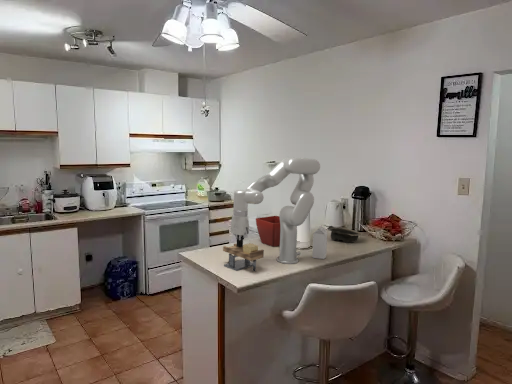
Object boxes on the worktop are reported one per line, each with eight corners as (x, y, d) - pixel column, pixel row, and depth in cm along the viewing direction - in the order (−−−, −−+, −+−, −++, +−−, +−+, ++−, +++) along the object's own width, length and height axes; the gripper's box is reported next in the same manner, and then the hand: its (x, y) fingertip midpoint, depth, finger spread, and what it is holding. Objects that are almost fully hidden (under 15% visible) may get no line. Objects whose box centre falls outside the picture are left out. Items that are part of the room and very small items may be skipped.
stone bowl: (320, 239, 255) (321, 226, 254) (337, 236, 274) (338, 224, 274) (352, 246, 239) (354, 232, 239) (368, 242, 258) (369, 229, 258)
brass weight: (242, 254, 187) (243, 244, 186) (249, 252, 190) (250, 243, 190) (250, 256, 182) (251, 247, 182) (257, 255, 186) (258, 245, 185)
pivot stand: (219, 264, 195) (219, 252, 194) (238, 259, 205) (238, 247, 204) (245, 274, 181) (245, 261, 180) (264, 268, 191) (265, 256, 190)
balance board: (223, 250, 196) (223, 243, 196) (235, 248, 202) (235, 241, 202) (251, 260, 181) (251, 253, 180) (263, 257, 187) (263, 250, 187)
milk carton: (312, 257, 212) (313, 226, 210) (314, 254, 218) (316, 224, 216) (324, 259, 209) (325, 227, 207) (326, 256, 216) (327, 225, 214)
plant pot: (272, 249, 228) (273, 223, 226) (254, 242, 243) (254, 218, 241) (294, 244, 240) (295, 220, 238) (275, 238, 255) (276, 215, 253)
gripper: (226, 212, 193) (225, 245, 195) (245, 216, 183) (244, 251, 185) (236, 210, 199) (235, 242, 201) (255, 214, 188) (254, 248, 190)
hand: (239, 246), depth 193 cm, fingers closed
